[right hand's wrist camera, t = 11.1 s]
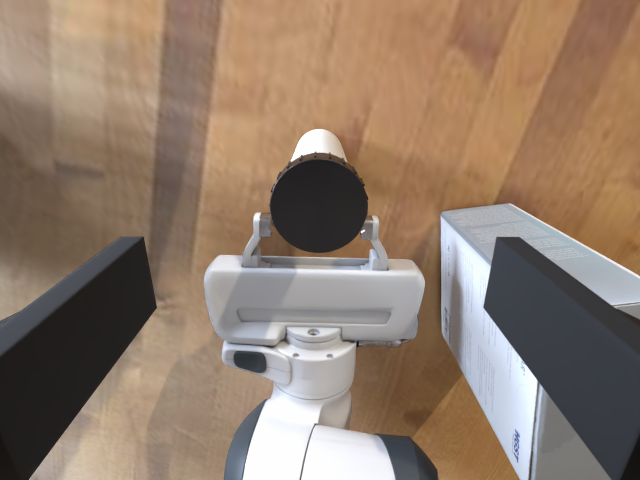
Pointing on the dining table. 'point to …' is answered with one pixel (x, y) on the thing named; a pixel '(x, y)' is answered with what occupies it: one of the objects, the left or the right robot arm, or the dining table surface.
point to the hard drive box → (497, 353)
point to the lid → (318, 203)
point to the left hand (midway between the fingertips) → (316, 215)
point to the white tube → (319, 144)
